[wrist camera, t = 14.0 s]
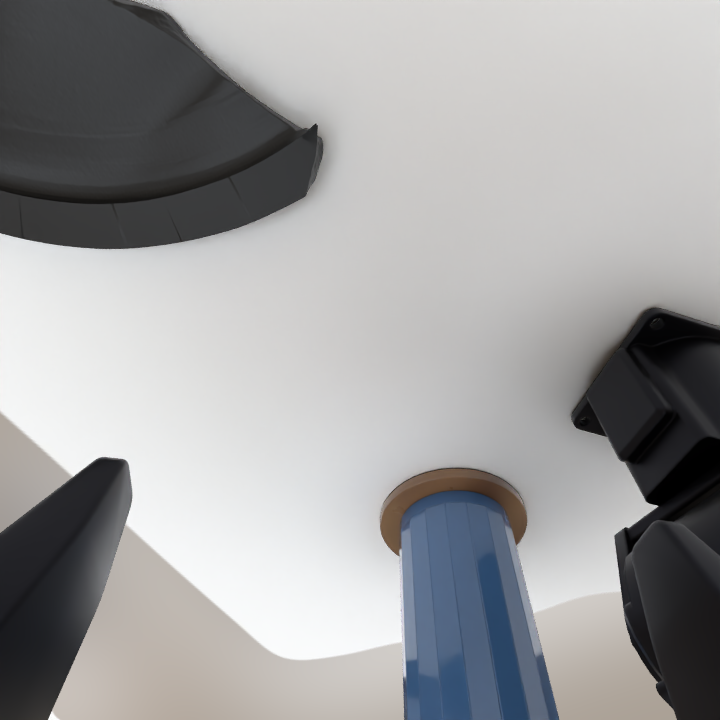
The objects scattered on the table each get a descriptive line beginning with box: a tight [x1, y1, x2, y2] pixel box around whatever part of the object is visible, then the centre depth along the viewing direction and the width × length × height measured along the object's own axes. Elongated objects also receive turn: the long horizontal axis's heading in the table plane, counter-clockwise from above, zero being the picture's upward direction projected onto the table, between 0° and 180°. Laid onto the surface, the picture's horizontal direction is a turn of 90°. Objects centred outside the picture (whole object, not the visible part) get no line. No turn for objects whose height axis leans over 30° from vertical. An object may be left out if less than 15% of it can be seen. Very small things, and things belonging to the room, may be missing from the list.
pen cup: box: [399, 490, 559, 720], centre depth 23 cm, size 6×6×12 cm
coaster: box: [380, 468, 527, 557], centre depth 29 cm, size 8×8×1 cm
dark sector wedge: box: [0, 0, 323, 249], centre depth 17 cm, size 8×14×2 cm, turn 74°
